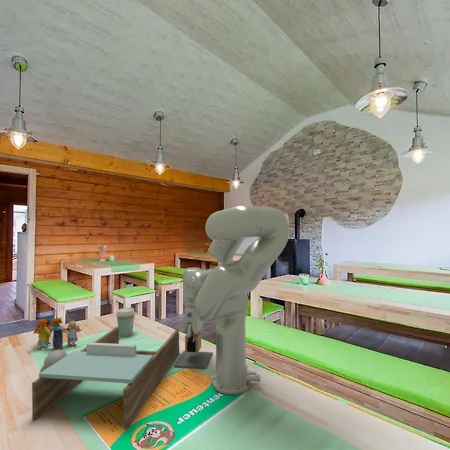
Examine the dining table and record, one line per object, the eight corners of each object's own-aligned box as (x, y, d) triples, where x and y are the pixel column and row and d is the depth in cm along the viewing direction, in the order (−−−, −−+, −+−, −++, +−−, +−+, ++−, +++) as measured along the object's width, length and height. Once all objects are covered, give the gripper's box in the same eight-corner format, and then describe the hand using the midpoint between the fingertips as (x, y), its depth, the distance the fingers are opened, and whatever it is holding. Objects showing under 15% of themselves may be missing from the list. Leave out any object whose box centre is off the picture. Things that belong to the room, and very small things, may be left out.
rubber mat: (212, 353, 110) (212, 352, 110) (206, 369, 98) (206, 367, 98) (183, 352, 112) (183, 351, 112) (173, 367, 100) (173, 365, 100)
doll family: (83, 345, 121) (82, 315, 121) (67, 355, 111) (66, 322, 112) (41, 342, 124) (41, 313, 125) (22, 351, 115) (21, 320, 115)
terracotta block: (188, 346, 108) (188, 330, 108) (201, 347, 107) (201, 331, 107) (185, 352, 103) (185, 336, 103) (198, 352, 102) (198, 336, 102)
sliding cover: (153, 358, 86) (152, 345, 86) (131, 383, 72) (131, 368, 72) (74, 354, 89) (73, 341, 89) (38, 377, 76) (38, 362, 76)
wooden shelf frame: (179, 353, 111) (178, 329, 111) (127, 428, 69) (127, 389, 69) (116, 350, 115) (116, 326, 115) (32, 419, 73) (32, 382, 73)
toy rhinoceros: (61, 392, 90) (68, 369, 89) (35, 374, 93) (41, 351, 92) (78, 380, 97) (85, 359, 96) (53, 363, 100) (60, 342, 99)
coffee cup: (131, 338, 127) (131, 312, 127) (113, 338, 127) (112, 312, 127) (137, 331, 135) (137, 307, 136) (120, 331, 136) (120, 307, 136)
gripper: (197, 307, 96) (197, 359, 96) (207, 295, 113) (207, 339, 113) (176, 306, 97) (176, 358, 97) (189, 294, 114) (189, 338, 114)
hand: (193, 347), depth 105 cm, fingers closed on terracotta block, 5 cm apart
